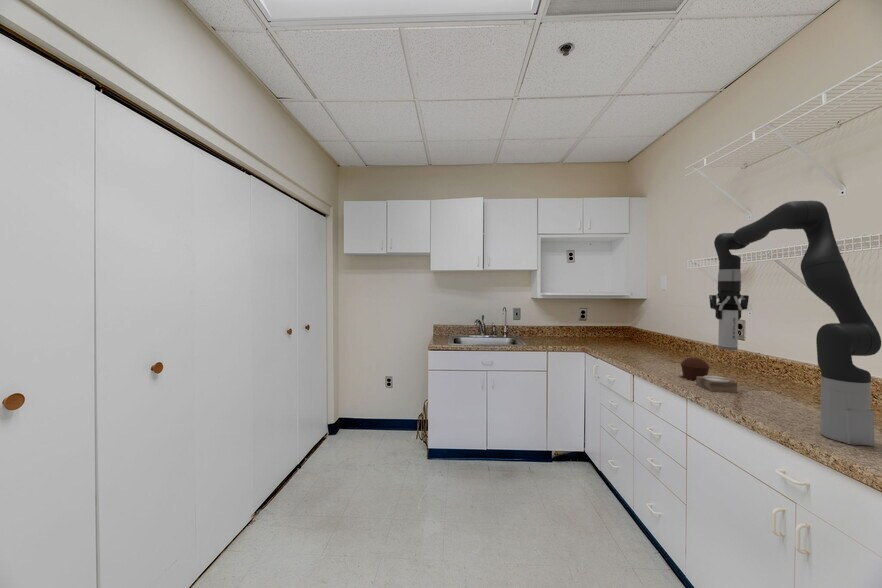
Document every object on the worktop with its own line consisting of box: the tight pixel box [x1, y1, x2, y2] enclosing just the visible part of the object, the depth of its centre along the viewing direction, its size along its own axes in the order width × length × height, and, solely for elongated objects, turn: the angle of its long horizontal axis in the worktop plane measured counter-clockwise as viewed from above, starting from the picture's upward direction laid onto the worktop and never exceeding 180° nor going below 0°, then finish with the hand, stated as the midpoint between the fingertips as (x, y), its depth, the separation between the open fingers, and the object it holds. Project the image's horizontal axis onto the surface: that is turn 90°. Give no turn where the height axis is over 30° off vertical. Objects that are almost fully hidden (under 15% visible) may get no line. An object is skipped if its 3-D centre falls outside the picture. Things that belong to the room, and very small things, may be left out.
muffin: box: [680, 357, 710, 381], centre depth 164 cm, size 12×11×10 cm
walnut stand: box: [695, 375, 738, 393], centre depth 147 cm, size 10×10×4 cm
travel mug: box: [717, 301, 739, 351], centre depth 144 cm, size 6×7×20 cm
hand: (728, 319), depth 144 cm, fingers closed on travel mug, 6 cm apart
